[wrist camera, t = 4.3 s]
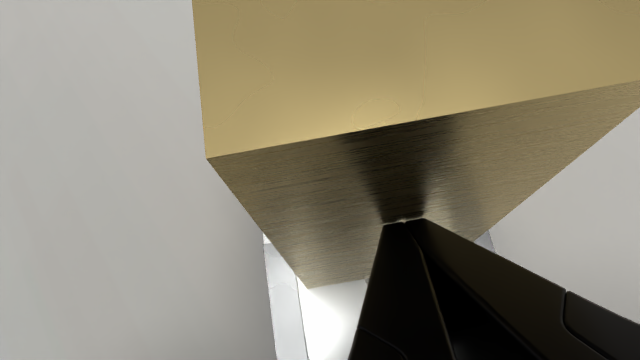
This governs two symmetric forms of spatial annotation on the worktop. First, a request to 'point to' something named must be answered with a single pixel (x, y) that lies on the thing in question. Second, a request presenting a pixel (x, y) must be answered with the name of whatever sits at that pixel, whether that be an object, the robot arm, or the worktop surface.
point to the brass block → (403, 112)
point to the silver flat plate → (316, 310)
